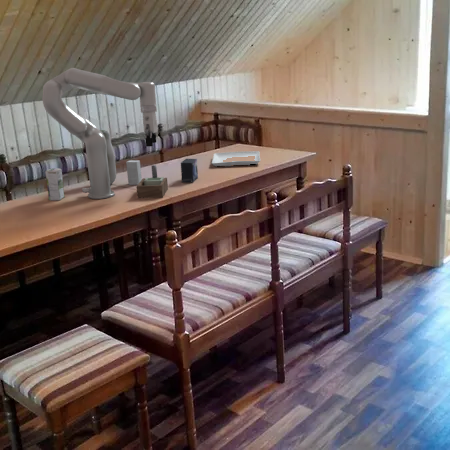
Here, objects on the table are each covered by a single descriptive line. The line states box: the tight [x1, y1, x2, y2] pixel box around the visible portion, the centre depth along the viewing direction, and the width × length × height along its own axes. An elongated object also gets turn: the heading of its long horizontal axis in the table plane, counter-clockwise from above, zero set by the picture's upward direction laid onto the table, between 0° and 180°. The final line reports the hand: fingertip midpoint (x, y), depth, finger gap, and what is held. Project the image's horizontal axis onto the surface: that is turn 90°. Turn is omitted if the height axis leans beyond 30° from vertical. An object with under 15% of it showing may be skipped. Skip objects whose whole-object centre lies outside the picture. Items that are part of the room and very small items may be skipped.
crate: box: [144, 164, 165, 186], centre depth 305 cm, size 8×8×11 cm
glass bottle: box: [99, 129, 117, 185], centre depth 321 cm, size 10×10×28 cm
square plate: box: [211, 150, 261, 167], centre depth 361 cm, size 27×27×4 cm
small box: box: [180, 158, 199, 184], centre depth 323 cm, size 11×6×10 cm, turn 168°
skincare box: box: [125, 159, 143, 186], centre depth 321 cm, size 6×4×12 cm
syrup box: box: [44, 167, 65, 201], centre depth 299 cm, size 6×6×14 cm
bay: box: [135, 177, 169, 199], centre depth 301 cm, size 16×12×6 cm
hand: (151, 144), depth 303 cm, fingers open, 9 cm apart
